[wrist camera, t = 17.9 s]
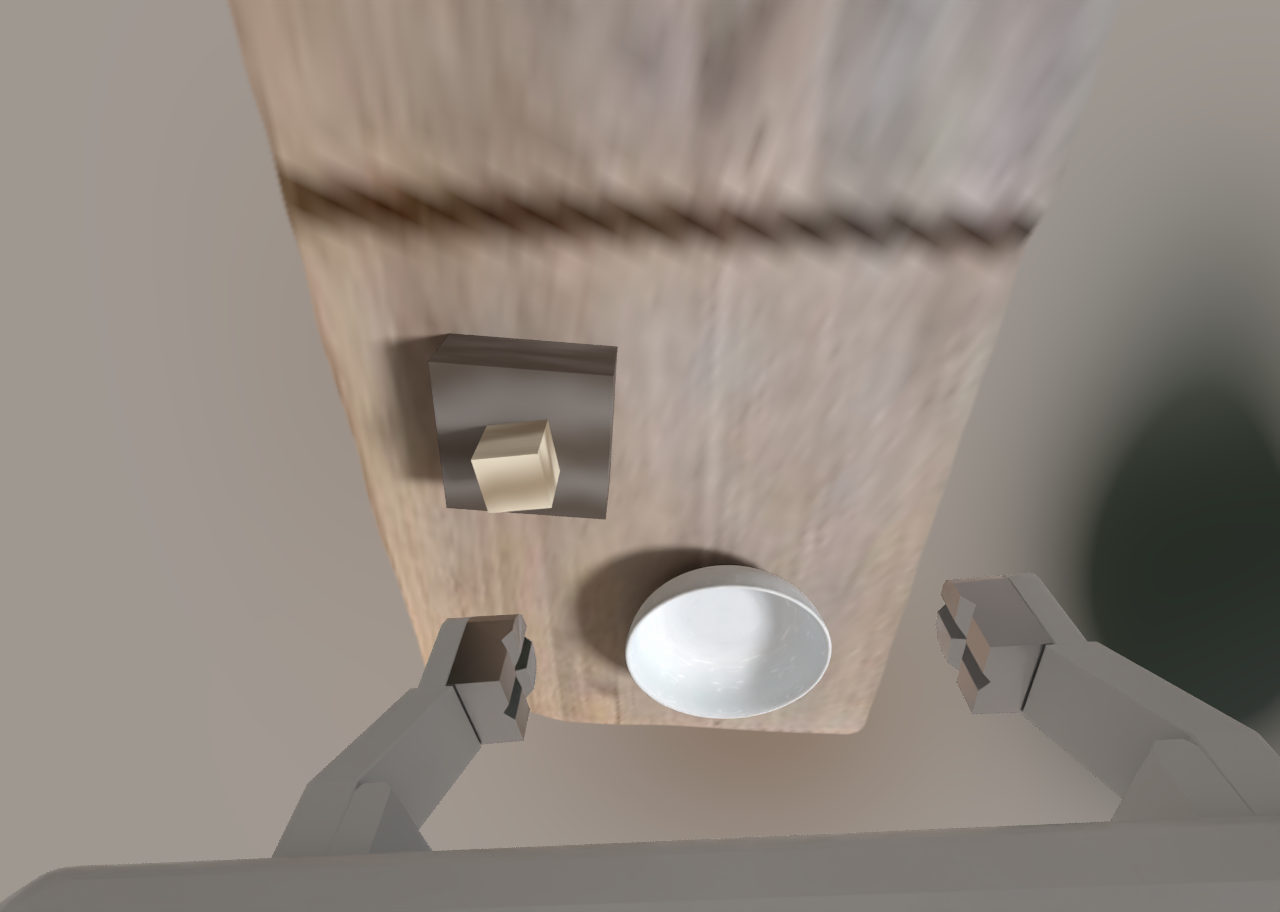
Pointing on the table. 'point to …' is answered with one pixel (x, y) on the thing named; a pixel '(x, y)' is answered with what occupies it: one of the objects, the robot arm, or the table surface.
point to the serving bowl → (727, 643)
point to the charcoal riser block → (526, 412)
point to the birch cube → (516, 466)
